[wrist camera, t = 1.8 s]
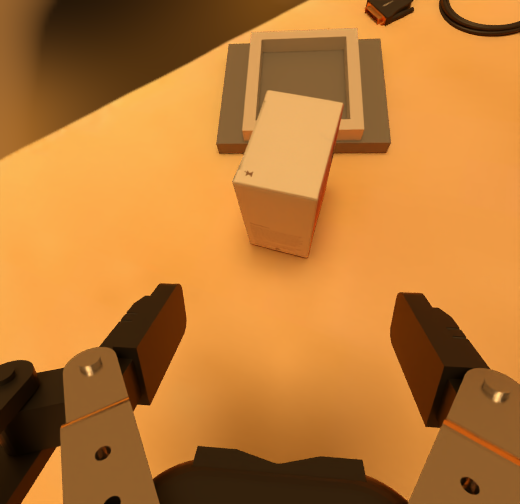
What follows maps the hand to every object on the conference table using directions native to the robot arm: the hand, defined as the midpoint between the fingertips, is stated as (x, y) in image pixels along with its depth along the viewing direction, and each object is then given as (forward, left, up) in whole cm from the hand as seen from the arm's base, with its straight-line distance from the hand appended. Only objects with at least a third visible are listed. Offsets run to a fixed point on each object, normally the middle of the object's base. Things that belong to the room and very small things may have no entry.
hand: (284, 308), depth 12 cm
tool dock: (-1, -26, -15) cm, 30 cm away
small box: (0, -12, -15) cm, 19 cm away
